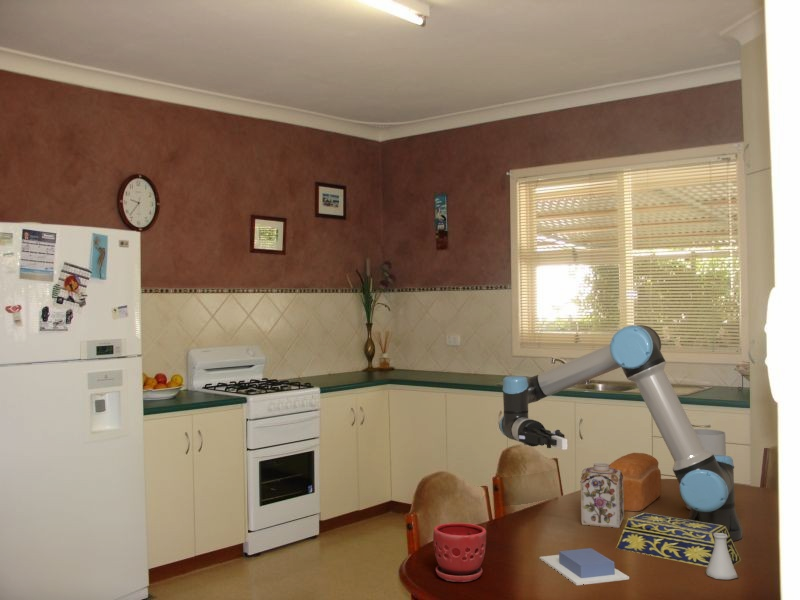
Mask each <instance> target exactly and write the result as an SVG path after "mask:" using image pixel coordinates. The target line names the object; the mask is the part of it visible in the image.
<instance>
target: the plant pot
mask: <svg viewBox="0 0 800 600" xmlns="http://www.w3.org/2000/svg"><path fill="white" fill-rule="evenodd" d="M486 545H487V529H486V528H484V527H483V526H480V525H477V524H473V523H468V522H467V523H465V522H464V523H463V522H450V523H449V522H447V523H442V524H437V525H436V526H435V527H434V529H433V550H434V556H435V558H436V562H437V563H438V565H437V566H436V567H435V572H436V574H437V576H438V577H439V578H441V579H443V580H445V581H446V582H456V583H467V582H472V581H475V580H477V579H478V578H480V577H481V576H482V574H483V568H482V567H481V566H482V563H483V561H484V557H485V553H486Z"/></svg>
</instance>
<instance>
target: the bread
mask: <svg viewBox="0 0 800 600" xmlns="http://www.w3.org/2000/svg"><path fill="white" fill-rule="evenodd" d="M609 468H613V469H617V470H620V471H621V472H622V475H623V496H624V512H628V511H629V512H641V511H643V510H644V509H645V508H647V507H648V506H650V505H651V504H652V503H653V502H655V501H656V500H657V499H658V498H659V497H660V496H661V492H662V474H661V470H660V468H659V461H658V459H657V458H656V457H654V456H653V455H650V454H647V453H644V452H632V453H628V454H626V455H622V456H620V457H618V458H617V459H615V460H614V461H612V462H611V463H610V464H609Z"/></svg>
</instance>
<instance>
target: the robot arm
mask: <svg viewBox="0 0 800 600" xmlns="http://www.w3.org/2000/svg"><path fill="white" fill-rule="evenodd" d="M661 350H662V341H661V338H660V336H659V334H658V332H657V331H656V330H655V329H654V328H652V327H650V326H647V325H643V324H640V325H639V324H637V325H627V326H624V327H622V328H621V329H619V330H618V331H617V332H615V333H614V335H613V336H612V338H611V340H610V344H607V345H606V346H603V347H601V348H599V349H596V350H594V351H591V352H589V353H586V354H584V355H580V356H579V357H577V358H575V359H572V360H570V361H568V362H565V363H563V364H560V365H557V366H556V367H552V368H551V369H548V370H546V371H544V372H541V373H539V374H535V375H534V376H531V377H529V378H527V377H526V376H525V375H510V376H505V377H504V378H503V379H502V397H503V398H502V399H503V401H502V402H503V416H502V417H501V419H500V421H499V429H500V432H501V434H503V435H504V436H505V437H507V438H508V439H509V440H514V441H517V442H519V443H521V444H523V445H524V446H529V447H538V446H544V445H545V446H546V448H547V449H551V448H552V447H554V448H557V449H559V450H562V451H563V450H564V451H566V450H568V438H566V437H565V434H564V433H563V432H562V431H561V430H560V429H556V430H553V432H551V430H549V429H546V427H545V426H544V425H543V424H542V423H541V422H540V421H538V420H534V419H531V418H529V404H532V403H536V402H538V401H541V400H542V399H545V398H546V397H549V396H552V395H554V394H557V393H559V392H562V391H564V390H567V389H569V388H571V387H575V386H578V385H580V384H582V383H585V382H587V381H589V380H591V379H595V378H597V377H599V376H603V375H605V374H607V373H610V372H612V371H614V370H617V369H619V368H621V370H622V372H623V374H624V375H625V377H626V379H627V380H628V381H631V382H633V383H634V384H635V385H636V386H637V389H638V391H639V393H640V396H641V397H642V399H643V401H644V403H645V404H646V405H645V406H646V407H647V409H648V411H649V413H650V415H651V418H652V419H653V421H654V423H655V425H656V427H657V430H658V432H659V433H660V435H661V437H662V439H663V441H664V443H665V445H666V447H667V449H668V451H669V453H670V455H671V457H672V459H673V461H674V464H673V466H672V471H673V474H674V475H675V478H676V479H677V482H678V484H679V494H680V495H681V496H680V497H681V498H682V500H683V502H684V503H685V505H686V504H687V505H688V506H689V507H691V509H690V510H689V513H688V515H687V519H688V520H694V521H700V522H707V523H713V524H719V525H725V526H726V528H727V531H728V533H729V535H730V538H731V539H732V542H735V541H739V540H742V539H743V527H742V525H741V523H740V519H739V517H738V515H737V512H736V507H735V505H736V504H735V479H734V477H735V476H734V469H735V465H734V460H733V459H734V458H732V456H729V455H726V456H725V455H713V453H711V452H709V451H706V450H705V449H704V448H703V446H702V444H701V442H700V440H699V438H698V436H697V434H696V432H695V430H694V429H695V428H694V427H693V425H692V423H691V421H690V418H689V416H688V415H687V412H686V411H685V409H684V406H683V405H682V402H681V401H680V399H679V397H678V395H677V393H676V390H675V389H674V388H673V386H672V383H671V381H670V379H669V378H668V376H667V373H666V371H665V367H666V363H667V362H666V359H665V358H664V355H663V353H662V351H661Z"/></svg>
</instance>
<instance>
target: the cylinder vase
mask: <svg viewBox="0 0 800 600" xmlns="http://www.w3.org/2000/svg"><path fill="white" fill-rule="evenodd" d="M694 430H695V432H696V434H697V436H698V438H699V440H700V442H701V444H702V446H703V448H704V449H705V450H706V451H709V452H711V453H713V455H725V456H727V445H726V432H725V431H722V430H717V429H706V428H705V429H703V428H702V429H701V428H699V429H698V428H697V429H695V428H694ZM685 506H686V509H688V510H689V511H690V509H691V507H689V506H688V505H687V504H686V503H685Z"/></svg>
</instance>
